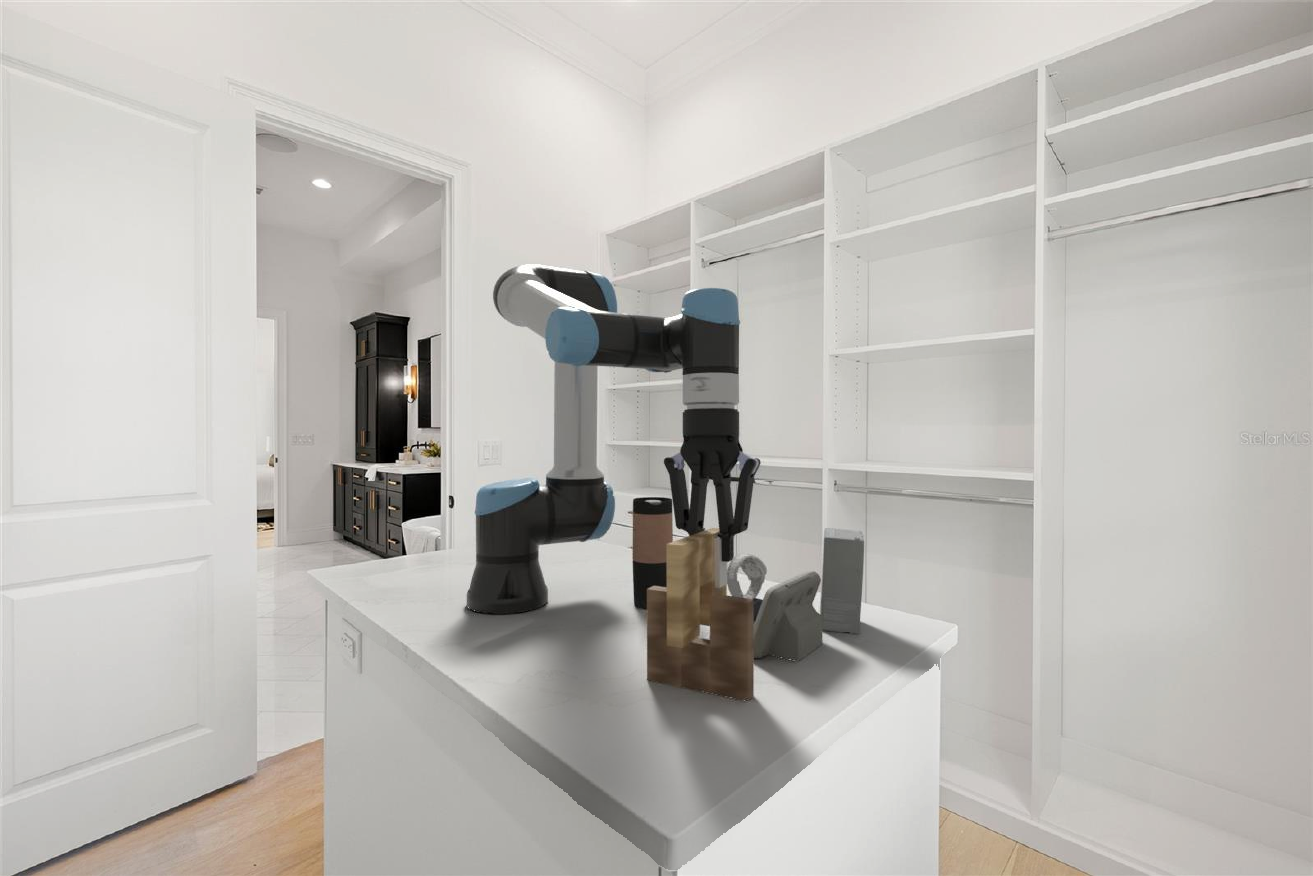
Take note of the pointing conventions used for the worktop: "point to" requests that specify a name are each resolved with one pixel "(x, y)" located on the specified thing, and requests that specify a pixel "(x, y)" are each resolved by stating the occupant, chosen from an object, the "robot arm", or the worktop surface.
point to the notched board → (690, 586)
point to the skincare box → (842, 580)
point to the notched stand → (704, 648)
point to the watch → (754, 573)
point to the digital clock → (789, 619)
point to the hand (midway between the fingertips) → (711, 584)
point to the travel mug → (650, 545)
